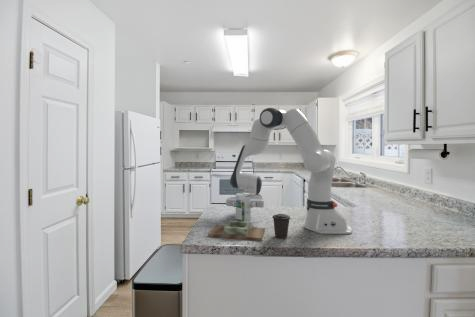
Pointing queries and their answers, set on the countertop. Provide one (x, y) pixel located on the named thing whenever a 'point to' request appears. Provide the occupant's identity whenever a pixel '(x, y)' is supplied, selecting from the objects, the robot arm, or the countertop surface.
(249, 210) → the syrup box
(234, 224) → the collar stand
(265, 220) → the countertop surface
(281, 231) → the coffee cup
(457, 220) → the countertop surface
